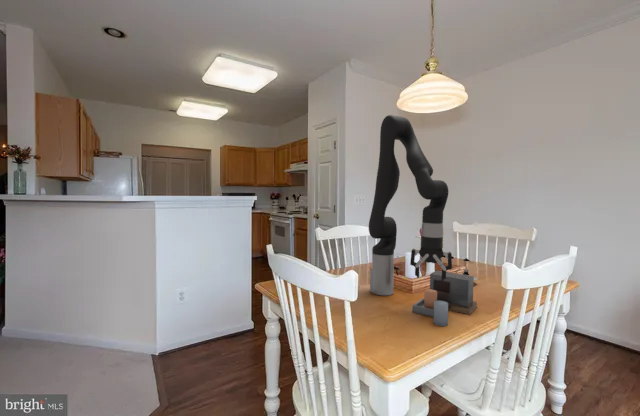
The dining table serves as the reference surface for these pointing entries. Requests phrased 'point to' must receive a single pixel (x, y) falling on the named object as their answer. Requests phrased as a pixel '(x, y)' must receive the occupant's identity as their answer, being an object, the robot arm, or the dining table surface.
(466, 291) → the unit
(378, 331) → the dining table surface
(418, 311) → the tray
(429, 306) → the terracotta part
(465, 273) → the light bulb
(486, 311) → the dining table surface
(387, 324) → the dining table surface
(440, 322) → the slate part
